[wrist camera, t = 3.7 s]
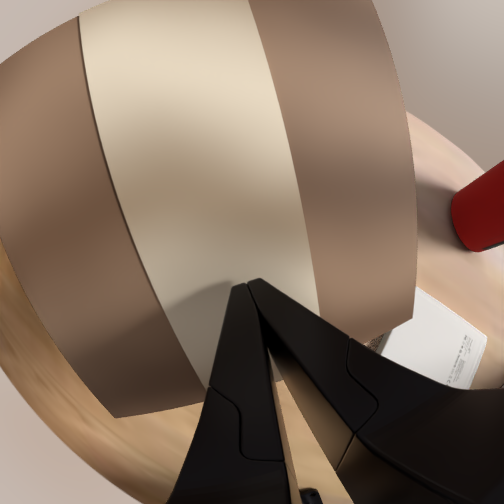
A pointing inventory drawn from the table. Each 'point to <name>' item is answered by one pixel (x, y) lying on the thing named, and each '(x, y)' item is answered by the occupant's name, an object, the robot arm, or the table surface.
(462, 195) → the beverage can
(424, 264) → the table surface
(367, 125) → the lid
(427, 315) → the external hard drive
